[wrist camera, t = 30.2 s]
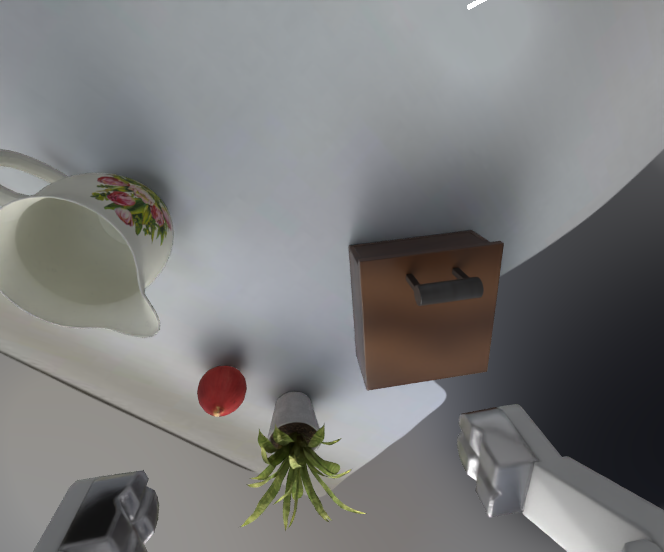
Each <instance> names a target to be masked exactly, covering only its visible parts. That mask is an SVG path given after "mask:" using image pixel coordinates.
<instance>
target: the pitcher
mask: <svg viewBox="0 0 664 552" xmlns="http://www.w3.org/2000/svg"><path fill="white" fill-rule="evenodd" d="M0 166H4V167H10V168H15V169H18V170H21V171H24V172H27V173H29V174H32V175H34V176H37V177H39V178H41V179H43V180H45V181H47V182H49V183H51V184H50V185H48V186H46V187H44V188H43V189H42V190H40V191H39V192H38V193H36V194H35V195H30V196H29V195H24V194H20V193H16V192H14V191H12V190H10V189H8V188H6V187H4V186H2V185H0V206H2V207H0V292H1V293H2V294H3V295H4V296H5V297H6V298H7V299H8V300H9V301H11V302H12V303H13V304H14V305H16V306H17V307H19V308H20V309H22V310H23V311H25V312H26V313H28V314H30V315H32V316H34V317H36V318H38V319H40V320H43V321H45V322H48V323H51V324H54V325H58V326H62V327H68V328H79V329H84V328H104V329H110V330H113V331H116V332H119V333H122V334H125V335H129V336H133V337H140V338H148V337H153V336H154V335H156V334H157V333H158V331H159V330H160V320H159V318H158V316H157V313H156V311H155V309H154V308H153V306H152V305H151V303H150V301H149V300H148V298H147V297H146V295H145V289H146V288H147V287H148V286H149V285H150V284H151V283H152V282H153V281H154V280H155V279H156V278H157V276H158V275H159V274H160V273H161V271H162V270H163V268H164V266H165V264H166V263H167V261H168V258H169V256H170V253H171V250H172V245H173V225H172V220H171V217H170V214H169V212H168V210H167V208H166V206H165V204H164V203H163V202H162V200H161V199H160V198H159V197H158V196H157V195H156V194H155V193H154V192H153V191H152V190H150V189H149V188H148V187H146V186H145V185H143V184H141V183H140V182H137V181H135V180H133V179H130V178H127V177H124V176H120V175H115V174H110V173H85V174H79V175H74V176H70V177H68V176H67V175H65V174H63V173H62V172H60V171H58V170H57V169H55V168H53V167H51V166H49V165H47V164H46V163H43V162H41V161H39V160H37V159H34V158H32V157H29V156H27V155H24V154H21V153H18V152H14V151H10V150H3V149H0Z"/></svg>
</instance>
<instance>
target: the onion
mask: <svg viewBox="0 0 664 552" xmlns="http://www.w3.org/2000/svg"><path fill="white" fill-rule="evenodd" d="M246 390H247V387H246V381H245V378H244V376H243V375H242V373H241V372H240V371H239V370H238V369H236V368H234V367H231V366H217V367H215V368H212V369H210V370H208V371H207V372H206V373H205V374H204V376H203V377H202V378H201V380H200V382H199V386H198V391H197V394H198V400H199V403H200V405H201V407H202V408H203V409H204V411H205V412H206V413H208V414H210V415H212V416H216V417H218V416H219V417H221V416H225V415H228V414H230V413H232V412H234V411H235V410H236V409H237V408H238V407H239V406H240V405H241V404H242V402H243V400H244V398H245V394H246Z"/></svg>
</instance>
